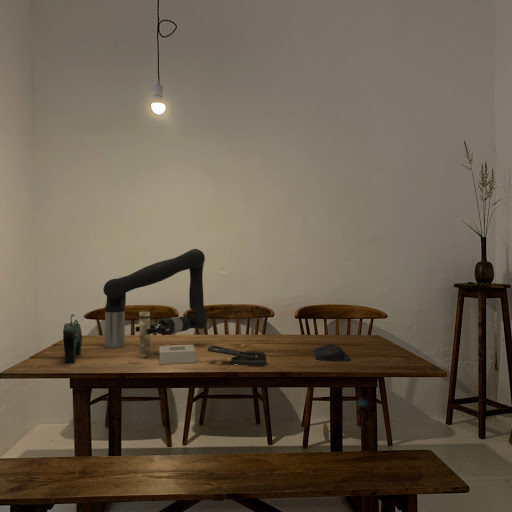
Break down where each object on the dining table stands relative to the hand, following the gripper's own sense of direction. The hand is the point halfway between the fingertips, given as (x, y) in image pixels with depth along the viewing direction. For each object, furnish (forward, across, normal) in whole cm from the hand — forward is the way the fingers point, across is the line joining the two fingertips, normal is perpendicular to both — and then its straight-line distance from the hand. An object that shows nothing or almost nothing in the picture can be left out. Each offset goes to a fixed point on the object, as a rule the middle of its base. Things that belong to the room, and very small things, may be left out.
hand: (141, 330), depth 210 cm
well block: (-8, +15, +12) cm, 21 cm away
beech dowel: (-2, 0, +12) cm, 12 cm away
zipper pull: (-21, +39, +12) cm, 46 cm away
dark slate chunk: (-60, +61, +13) cm, 86 cm away
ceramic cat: (+22, -20, +12) cm, 32 cm away
